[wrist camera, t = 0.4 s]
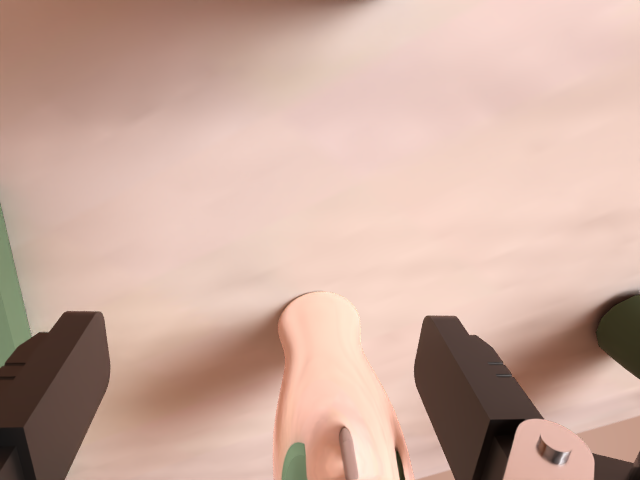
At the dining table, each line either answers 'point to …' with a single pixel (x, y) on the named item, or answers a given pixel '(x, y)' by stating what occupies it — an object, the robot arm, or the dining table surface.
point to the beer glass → (332, 400)
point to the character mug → (622, 334)
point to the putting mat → (10, 301)
